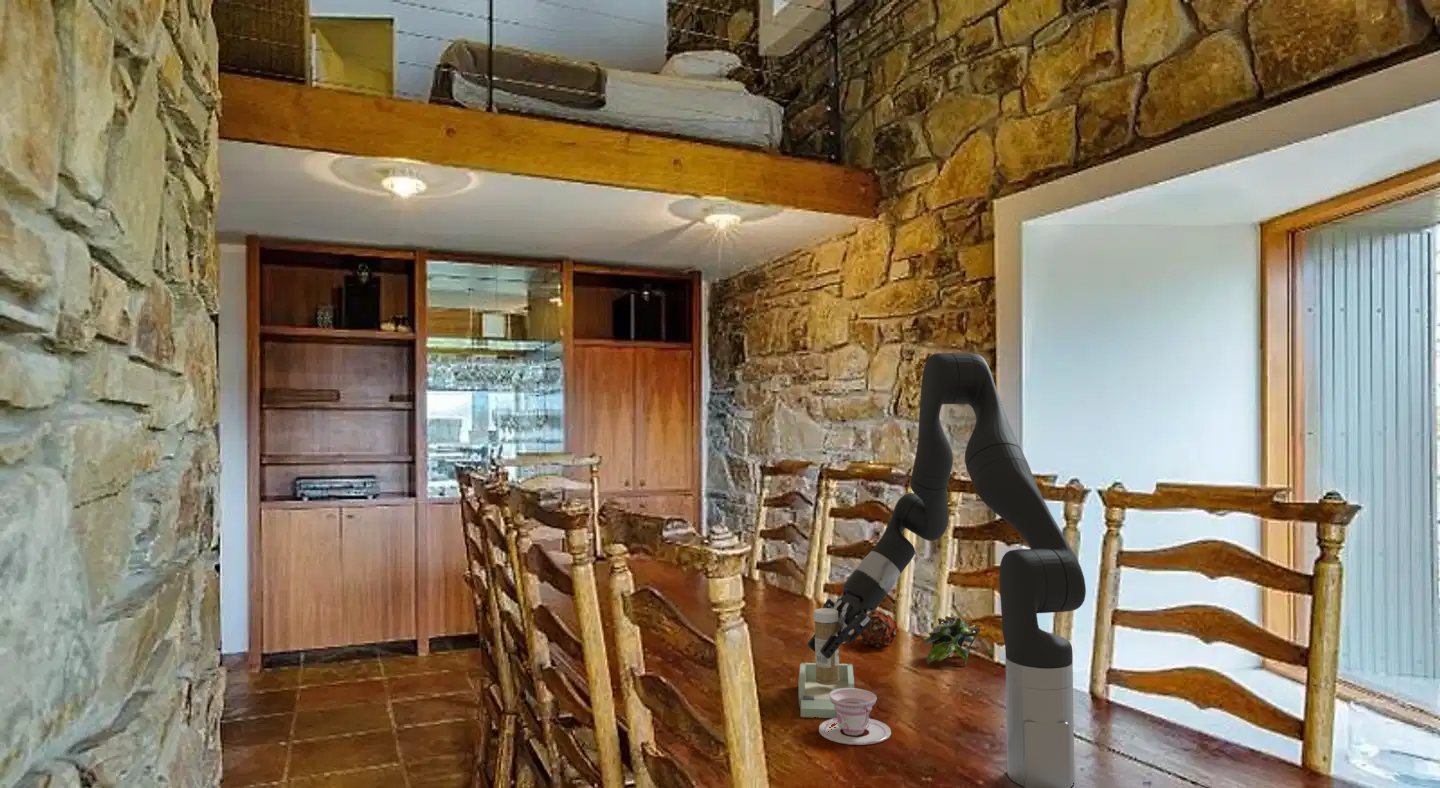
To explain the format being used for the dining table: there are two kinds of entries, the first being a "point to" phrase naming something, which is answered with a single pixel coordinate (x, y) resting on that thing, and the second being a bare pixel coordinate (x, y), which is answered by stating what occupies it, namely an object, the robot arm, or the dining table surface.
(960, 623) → the passion flower
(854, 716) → the teacup
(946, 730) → the dining table surface
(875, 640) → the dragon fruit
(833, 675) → the sprinkles bottle
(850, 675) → the crate
